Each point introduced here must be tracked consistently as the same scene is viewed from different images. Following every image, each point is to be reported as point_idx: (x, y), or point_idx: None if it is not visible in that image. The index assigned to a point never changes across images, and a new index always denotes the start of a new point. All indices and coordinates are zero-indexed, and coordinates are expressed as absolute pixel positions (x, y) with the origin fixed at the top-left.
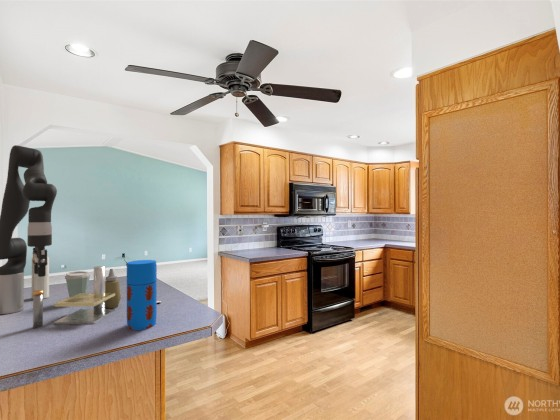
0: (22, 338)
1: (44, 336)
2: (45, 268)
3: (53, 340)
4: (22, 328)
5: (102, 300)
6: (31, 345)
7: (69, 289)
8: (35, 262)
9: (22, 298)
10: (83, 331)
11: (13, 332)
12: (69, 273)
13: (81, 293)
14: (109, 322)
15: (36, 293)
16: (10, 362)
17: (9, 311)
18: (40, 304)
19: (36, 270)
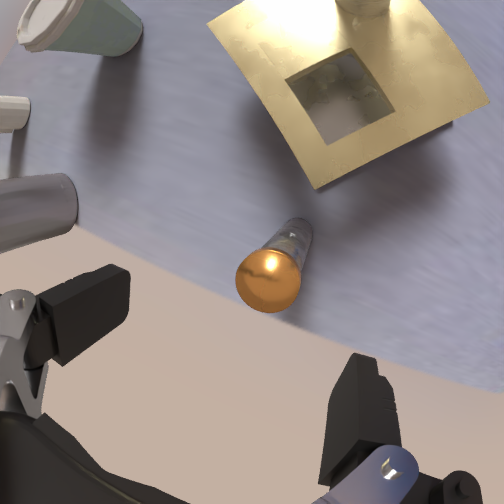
0: (369, 312)
1: (419, 272)
2: (385, 421)
3: (472, 277)
4: None
5: (446, 38)
6: (447, 324)
7: (85, 47)
8: (41, 375)
9: (43, 183)
10: (488, 188)
11: None
12: (23, 33)
13: (222, 20)
14: None
15: (292, 300)
16: (479, 380)
17: (72, 216)
18: (304, 256)
19: (106, 320)
